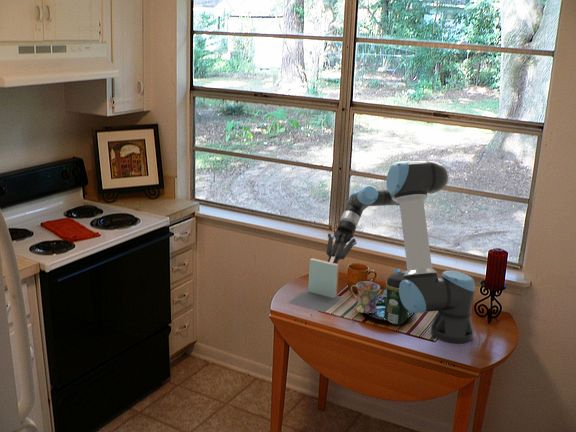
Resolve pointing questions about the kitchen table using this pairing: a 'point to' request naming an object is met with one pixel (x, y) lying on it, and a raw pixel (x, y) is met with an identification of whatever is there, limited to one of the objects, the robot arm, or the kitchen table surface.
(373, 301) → the mug
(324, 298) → the mat
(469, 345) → the kitchen table surface
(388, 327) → the kitchen table surface
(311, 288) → the tile
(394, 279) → the coffee jar
